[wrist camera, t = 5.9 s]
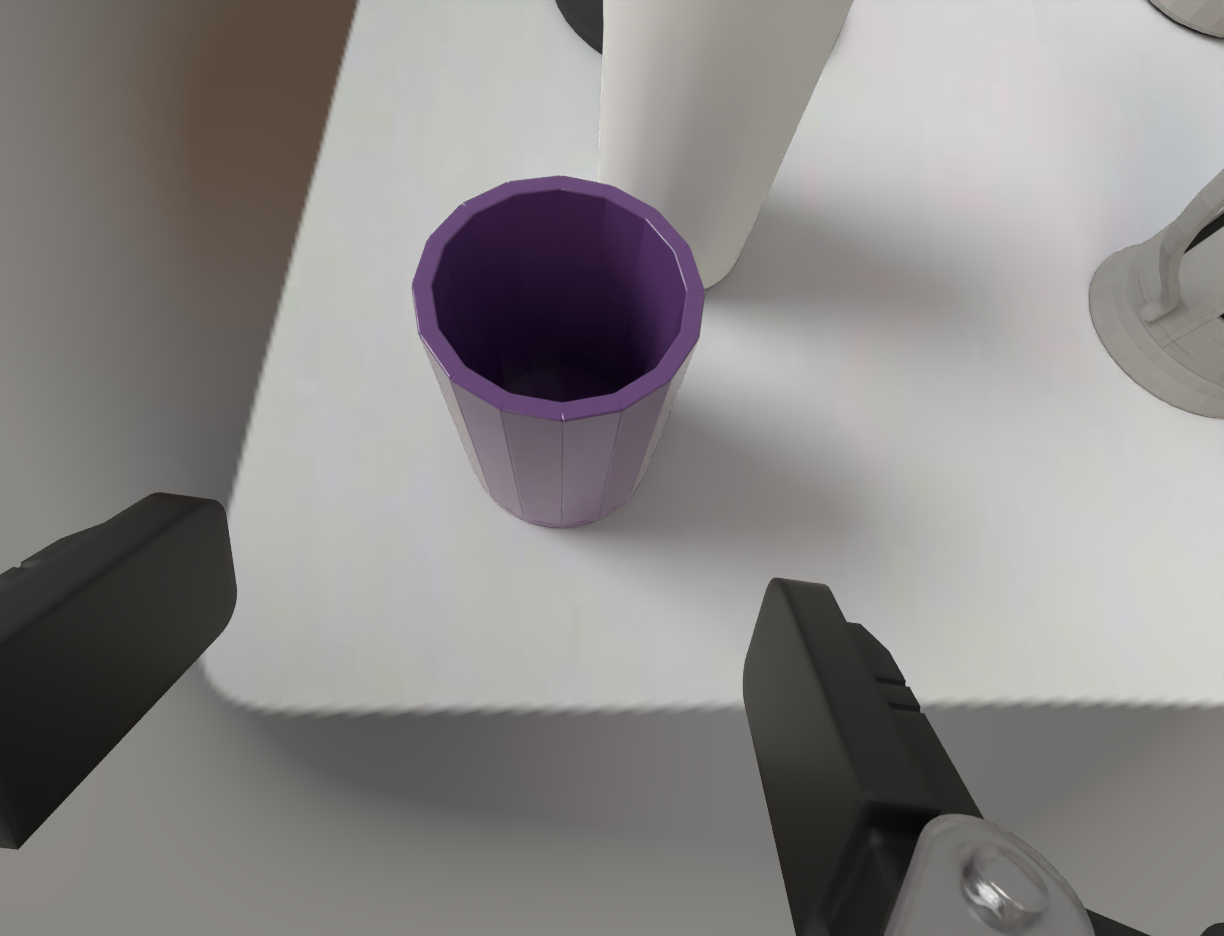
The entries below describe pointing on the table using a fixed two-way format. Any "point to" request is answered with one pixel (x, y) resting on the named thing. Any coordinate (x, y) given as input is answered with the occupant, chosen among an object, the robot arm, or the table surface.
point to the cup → (558, 340)
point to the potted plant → (1196, 14)
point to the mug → (707, 108)
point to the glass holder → (1170, 307)
